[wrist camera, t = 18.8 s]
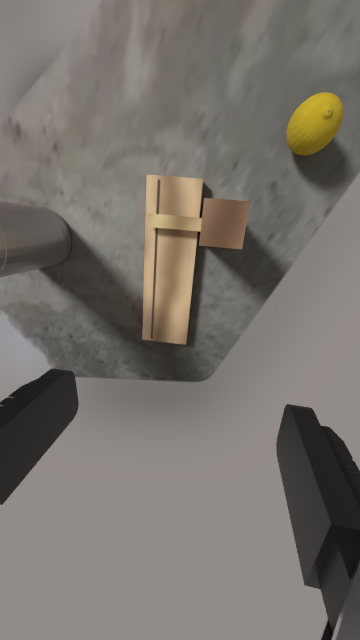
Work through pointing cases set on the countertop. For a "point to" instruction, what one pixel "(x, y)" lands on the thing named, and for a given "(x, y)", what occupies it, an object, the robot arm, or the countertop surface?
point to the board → (169, 259)
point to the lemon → (314, 123)
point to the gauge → (211, 223)
